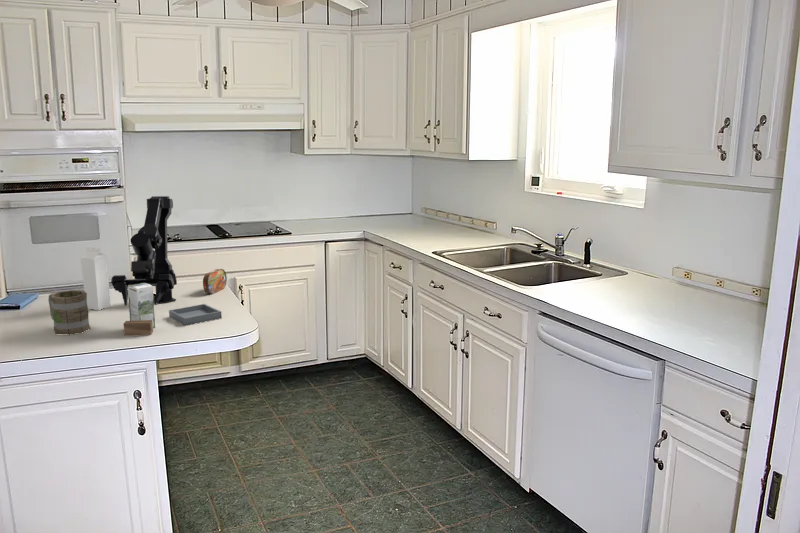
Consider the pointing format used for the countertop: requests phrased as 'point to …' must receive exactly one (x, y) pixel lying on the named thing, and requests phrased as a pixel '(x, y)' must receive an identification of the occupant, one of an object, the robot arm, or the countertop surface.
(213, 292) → the tin
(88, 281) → the milk
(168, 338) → the countertop surface
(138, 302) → the syrup box
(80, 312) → the mug
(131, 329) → the block
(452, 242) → the countertop surface
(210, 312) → the tray
